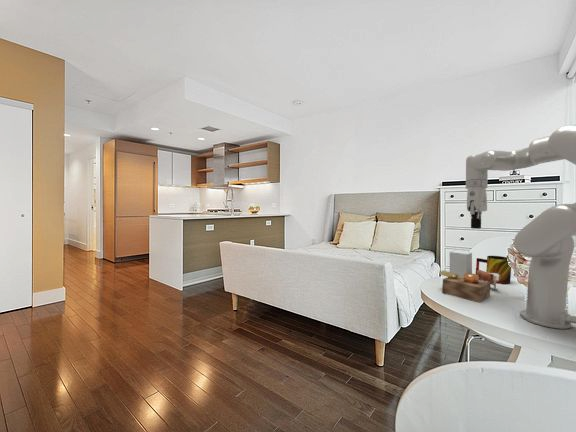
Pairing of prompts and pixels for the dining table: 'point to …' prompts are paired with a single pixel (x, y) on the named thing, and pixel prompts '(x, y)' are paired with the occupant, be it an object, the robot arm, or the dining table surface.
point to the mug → (497, 267)
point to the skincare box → (460, 262)
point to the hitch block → (466, 289)
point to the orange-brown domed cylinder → (471, 278)
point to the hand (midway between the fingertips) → (475, 228)
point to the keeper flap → (448, 274)
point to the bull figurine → (488, 277)
